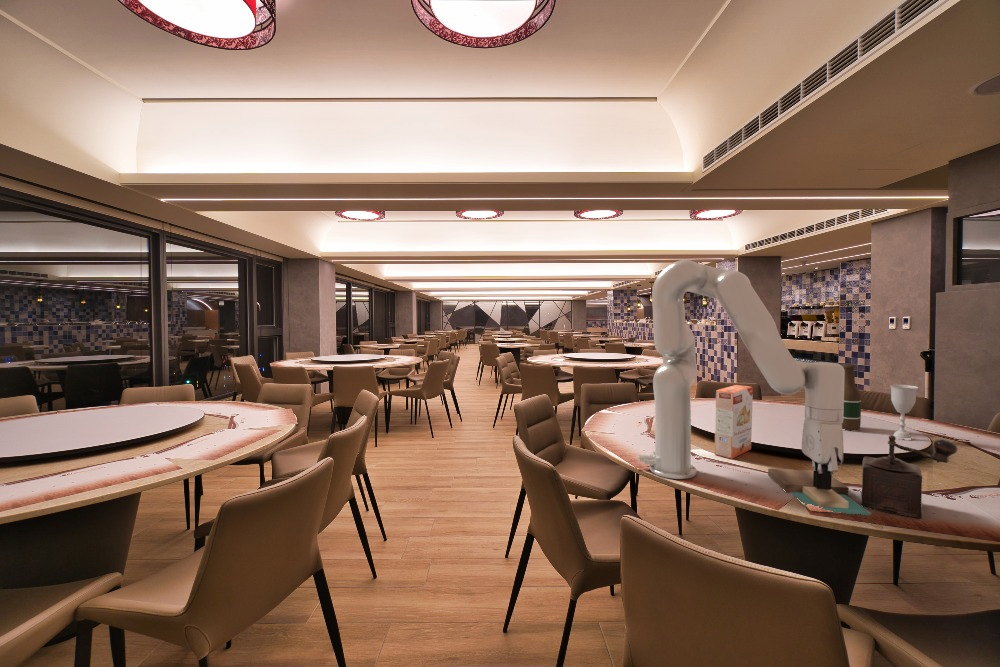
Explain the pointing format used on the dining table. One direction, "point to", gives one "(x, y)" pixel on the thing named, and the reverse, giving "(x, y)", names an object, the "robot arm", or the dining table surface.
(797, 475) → the board
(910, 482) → the brown manual coffee grinder
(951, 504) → the dining table surface
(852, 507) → the teal mat
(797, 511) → the dining table surface
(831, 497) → the maple tile
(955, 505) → the dining table surface
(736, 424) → the cracker box
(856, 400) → the beer bottle
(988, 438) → the dining table surface
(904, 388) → the chalice
